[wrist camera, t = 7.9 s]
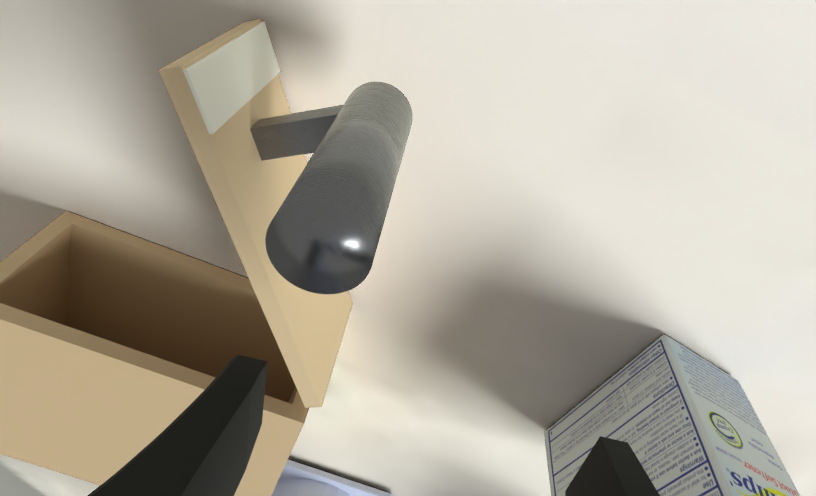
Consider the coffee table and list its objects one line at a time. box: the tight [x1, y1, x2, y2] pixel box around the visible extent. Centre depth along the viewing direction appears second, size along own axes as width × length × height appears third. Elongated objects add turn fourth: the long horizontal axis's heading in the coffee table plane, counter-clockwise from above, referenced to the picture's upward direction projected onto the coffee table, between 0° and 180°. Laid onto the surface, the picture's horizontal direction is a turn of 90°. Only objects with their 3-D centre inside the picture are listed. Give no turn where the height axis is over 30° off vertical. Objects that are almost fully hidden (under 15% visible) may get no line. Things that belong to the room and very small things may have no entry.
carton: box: [0, 211, 309, 496], centre depth 23 cm, size 8×12×6 cm, turn 68°
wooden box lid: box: [158, 19, 412, 408], centre depth 16 cm, size 5×12×10 cm, turn 12°
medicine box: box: [544, 335, 800, 496], centre depth 22 cm, size 8×4×9 cm, turn 149°
